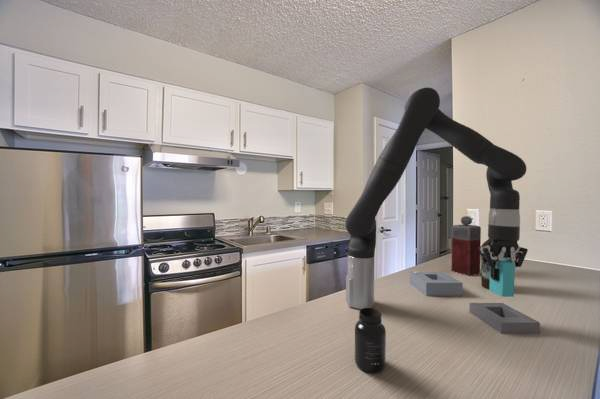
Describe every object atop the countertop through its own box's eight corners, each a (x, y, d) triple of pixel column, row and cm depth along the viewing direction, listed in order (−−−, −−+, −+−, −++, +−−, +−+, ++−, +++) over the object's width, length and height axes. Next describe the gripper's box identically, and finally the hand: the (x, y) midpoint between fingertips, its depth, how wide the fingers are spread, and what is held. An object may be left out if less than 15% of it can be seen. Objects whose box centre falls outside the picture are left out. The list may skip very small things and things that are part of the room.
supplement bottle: (350, 355, 62) (351, 305, 61) (378, 353, 62) (378, 304, 62) (359, 375, 55) (360, 319, 55) (390, 373, 55) (391, 318, 55)
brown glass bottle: (489, 282, 114) (490, 226, 113) (517, 290, 104) (519, 229, 103) (473, 285, 110) (475, 227, 109) (501, 294, 100) (502, 230, 99)
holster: (500, 333, 72) (501, 322, 72) (469, 311, 85) (469, 302, 85) (539, 333, 72) (539, 322, 72) (502, 311, 85) (502, 302, 85)
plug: (502, 296, 76) (503, 263, 76) (489, 290, 81) (490, 258, 81) (513, 296, 76) (515, 263, 76) (500, 290, 81) (501, 258, 81)
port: (426, 295, 98) (426, 281, 98) (409, 283, 112) (410, 270, 112) (462, 295, 98) (462, 281, 98) (441, 283, 112) (441, 270, 112)
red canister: (482, 272, 127) (484, 216, 127) (469, 276, 122) (470, 217, 122) (464, 268, 135) (465, 215, 135) (451, 271, 130) (452, 215, 130)
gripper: (490, 225, 74) (488, 284, 74) (538, 225, 74) (536, 284, 75) (472, 222, 81) (470, 276, 82) (515, 222, 82) (514, 276, 82)
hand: (501, 279), depth 78 cm, fingers closed on plug, 3 cm apart
